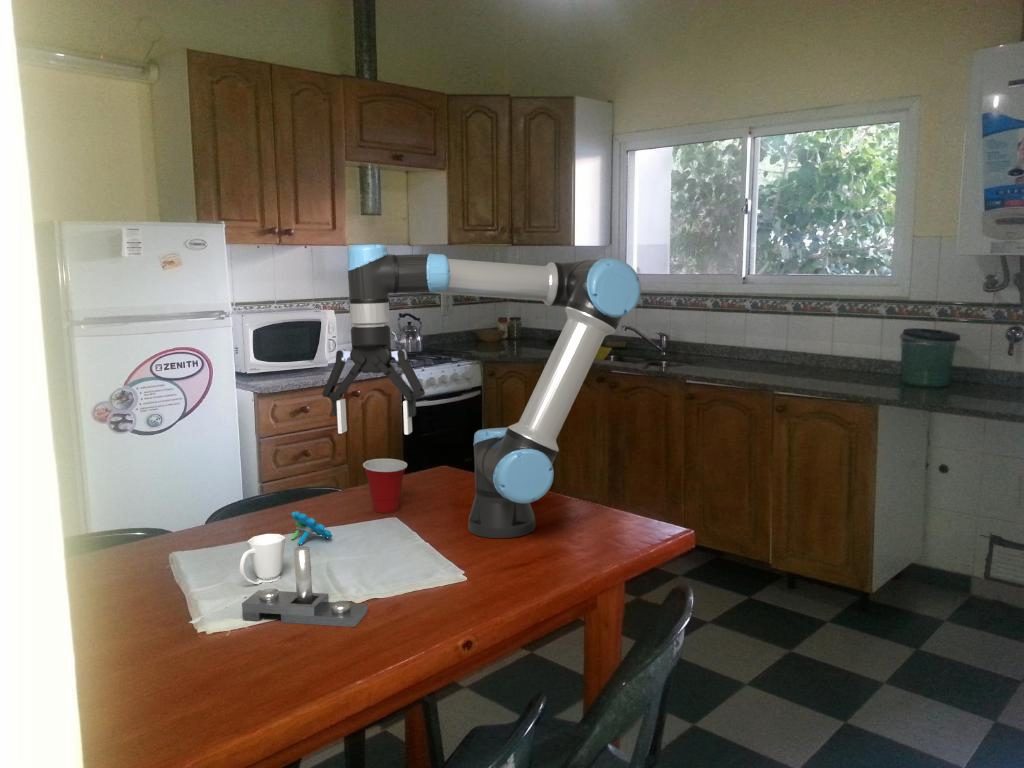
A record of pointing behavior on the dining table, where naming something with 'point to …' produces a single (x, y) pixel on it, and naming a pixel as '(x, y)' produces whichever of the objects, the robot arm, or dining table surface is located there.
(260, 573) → the cup
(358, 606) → the grey bolted bracket
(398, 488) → the plastic cup
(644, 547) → the dining table surface
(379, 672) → the dining table surface
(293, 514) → the gear
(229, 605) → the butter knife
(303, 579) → the metal pin
